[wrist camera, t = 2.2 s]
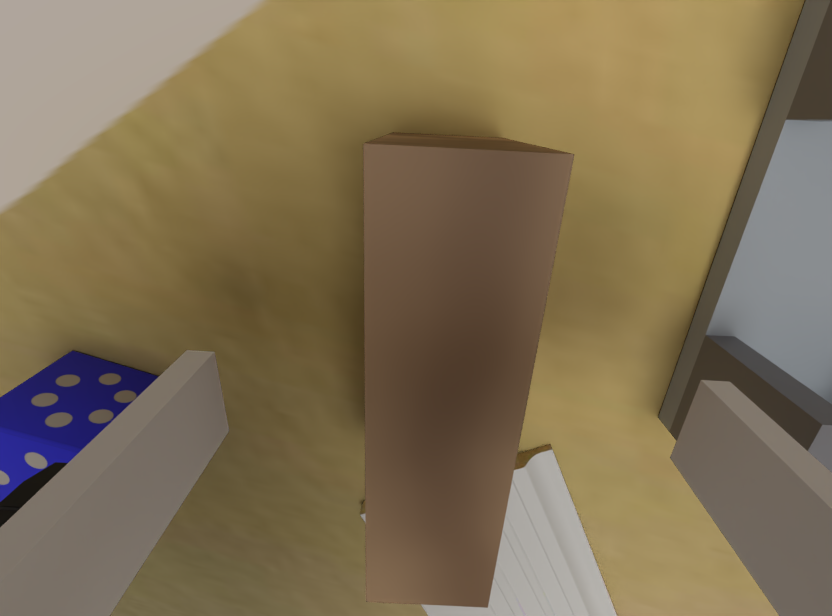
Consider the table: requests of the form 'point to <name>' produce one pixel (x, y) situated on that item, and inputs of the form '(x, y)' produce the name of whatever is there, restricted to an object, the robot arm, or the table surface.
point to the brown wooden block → (450, 350)
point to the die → (61, 413)
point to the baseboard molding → (540, 551)
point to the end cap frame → (776, 261)
